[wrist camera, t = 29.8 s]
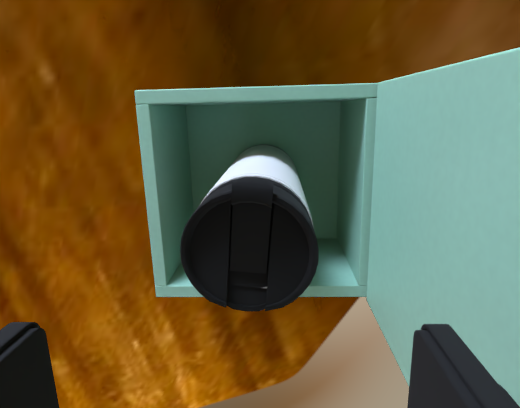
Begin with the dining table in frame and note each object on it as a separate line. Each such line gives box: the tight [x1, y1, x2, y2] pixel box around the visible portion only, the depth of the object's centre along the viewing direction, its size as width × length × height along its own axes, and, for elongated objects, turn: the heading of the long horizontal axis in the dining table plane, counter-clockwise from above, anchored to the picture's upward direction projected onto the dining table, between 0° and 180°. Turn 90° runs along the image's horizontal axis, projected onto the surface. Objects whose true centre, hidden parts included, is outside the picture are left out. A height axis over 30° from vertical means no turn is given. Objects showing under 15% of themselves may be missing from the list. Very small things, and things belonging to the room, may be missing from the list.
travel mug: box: [180, 144, 319, 311], centre depth 25 cm, size 6×7×20 cm
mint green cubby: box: [135, 83, 378, 297], centre depth 30 cm, size 16×15×11 cm
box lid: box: [367, 47, 520, 407], centre depth 16 cm, size 17×15×5 cm
